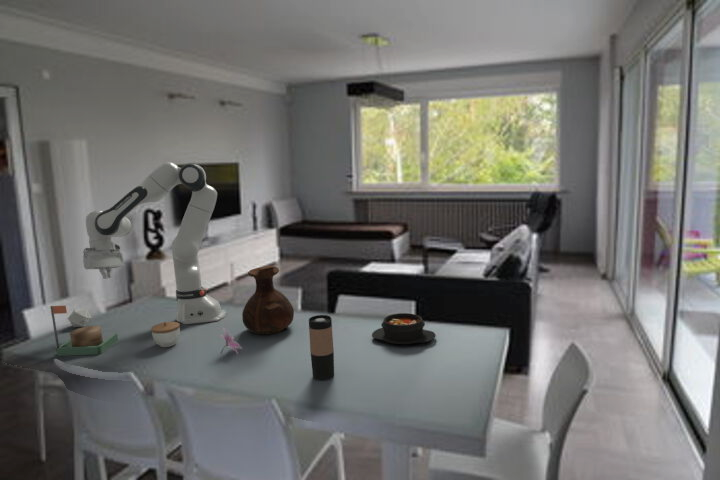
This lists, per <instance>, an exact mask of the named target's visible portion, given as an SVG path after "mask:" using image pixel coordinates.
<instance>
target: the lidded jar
mask: <svg viewBox="0 0 720 480" xmlns="http://www.w3.org/2000/svg"><path fill="white" fill-rule="evenodd" d="M180 326H181V325H180V322H178V321H164V322H161V323H160V322H159V323H156V324H155V325H153V326H152V327H150V328H151V329H150V330H151V335H152V339H153V341H154V342H155V344H156V345H158V346H159V348H168V347H169V348H170V347H172V346H174V345H176V343H177V342H178V340H179V338H180V334H181V333H180V332H181V330H180V329H181V328H180Z"/></svg>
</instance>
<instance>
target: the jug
mask: <svg viewBox="0 0 720 480" xmlns="http://www.w3.org/2000/svg"><path fill="white" fill-rule="evenodd" d="M279 272H280V269H279V267H278V266H275V265H269V266H268V265H267V266H261V267H256V268H253V269H250V270H248V272H247V274H248V276H249V277H251V278H252V277H253V278H254V280H255V287H256V288H255V292H254V293H253V294H252V295H251V296H250V298H248V300H247V301H246V303H245V305H244V307H243V310H242V313H241V314H242V315H241V316H242V322H243V326H245V328H246V330H249V331H250V332H252V333H253V334H257V335H271V334H276V333H280V332H281V331H283V330H284V329H286V328H288V327H289V326H290V325H291V324H292V322H293V320H294V315H295V314H294V313H295V310H294V307H293V305H292V303H291V302H290V300H289V299H288V297H287V296H286V295H285V294H284V293H282V292H281V291H280V290H278V289H276V288H275V287H274V281H273V279H274V276H276V275H277V274H278V273H279Z"/></svg>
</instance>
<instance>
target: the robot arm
mask: <svg viewBox="0 0 720 480" xmlns="http://www.w3.org/2000/svg"><path fill="white" fill-rule="evenodd" d="M178 185H183V186H184V187H186V188H187V189H188V190H189V191H190V192H192V193H191V198H190V201H189V202H188V204H187V208H186V210H185V212H184V216H183V218H182V220H181V223H180V226H179V229H178V232H177V235H176V236H175V237H174V238H173V240H172V242H171V253H172V261H173V269H174V278H175V286H176V288H175V298H176V302H177V314H176V319H175V320H176V322H177V323H182V325H191V324H202V323H210V322H218V321H220V320H223V319H224V318H225V317H226V315H227V311H226V309H222V308H221V305H220V302H219V301H218V300H217V299H215V298H213V297H211V296H210V295H208V294H207V290H208V288H207V287H203V286H202V279H201V277H202V276H201V269H200V263H199V255H198V254H199V252H200V249H201V245H202V242H203V240H204V236H205V233H206V229H207V227H208V225H209V222H210V220H211V218H212V216H213V215H212V214H213V212H214V210H215V206H216V203H217V200H218V199H217V198H218V192H217V190H216V189H215V188H214V186H211V185H209V184H207V173H206V171H205V170H204V168H203V167H202V166H200V165H199V164H195V163H191V162H190V163H186V164H184V165H183V166H181V167H179V166H178V165H177V164H176V163H174V162H171V161H166V162H164V163H162V164H160V165H159V166H158V167H157V168H155V169H154V170H153V171H152V172H151V173H150V174H149V175H147V177H146V178H145V179H143V180H142V181H141V183H139V184H138V185H137V186H136V187H135V188H133V189H132V190H130V191H129V192H128V193H126V194H125V195H124V196H123V197H122V198H121V199H119V201H118V202H116V203H115V204H113V206H111V207H110V208H108V209H106V210H104V211H103V210H95V211H92V212H90V213H89V214H87V215H86V216H85V227H86V234H87V236H88V238H89V239H88V243H89V247H85V248H84V250H83V251H82V253H83V255H82V259H83V260H82V261H83V262H82V263H83V267H84V269H85V270H99V272H100V274H101V275H102V279H103V280H105V279H112V275H111V274H112V271H113V269H120V268H124V266H125V260H124V255H123V252H122V246H121V245H119V244H117V243H115V242H113V241H112V238H113V237H114V238H116V237H118V238H119V237H125V236H127V235H129V234H130V232H131V230H132V221H131V220H130V219H129V218H128V217H126V216H127V215H129V214H130V213H131V212H132V211H133V210H135V208H137V207H138V206H140V205H142V204H143V205H144V204H148V203H156V202H158V201H161V200H162V199H163V198H165V197H166V196H167V195H168V194H169V193H170V192H171V191H172V189H174V188H175V187H176V186H178Z"/></svg>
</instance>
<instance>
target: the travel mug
mask: <svg viewBox="0 0 720 480" xmlns="http://www.w3.org/2000/svg"><path fill="white" fill-rule="evenodd" d="M332 323H333V321H332V317H331V316H330V315H327V314H318V315H313V316H311V317H309V318H308V332H309V348H310V351H309V352H310V358H311V359H310V361H311V371H312V378H313V379H314V380H316V381H320V382H321V381H329V380H332V379H333V378H334V377H335V353H334V352H335V351H334V349H335V348H334V335H333V324H332Z"/></svg>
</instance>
